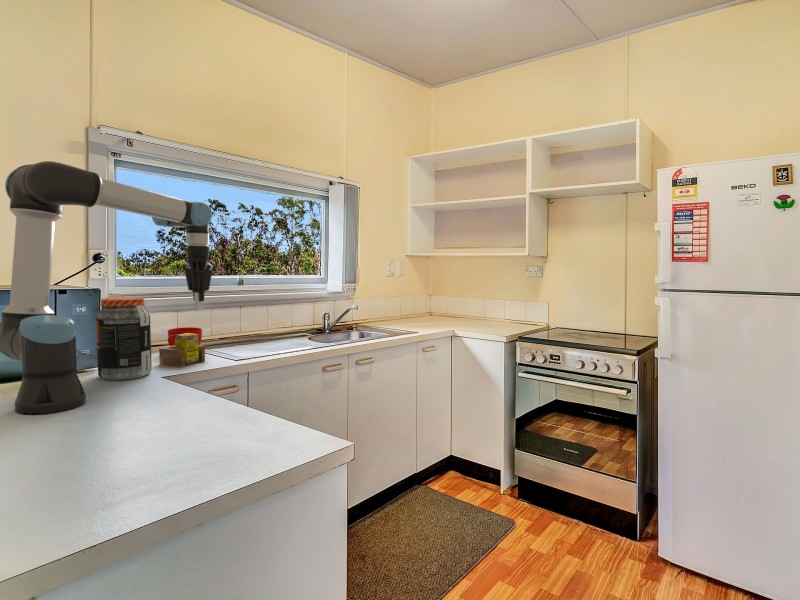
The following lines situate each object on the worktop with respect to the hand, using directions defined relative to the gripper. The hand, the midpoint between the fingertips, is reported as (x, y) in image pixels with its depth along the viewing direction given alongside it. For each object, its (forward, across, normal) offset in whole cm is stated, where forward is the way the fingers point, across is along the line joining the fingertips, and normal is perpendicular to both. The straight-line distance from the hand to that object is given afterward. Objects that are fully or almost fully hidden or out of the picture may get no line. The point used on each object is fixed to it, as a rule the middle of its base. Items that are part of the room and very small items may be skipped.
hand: (198, 310), depth 178 cm
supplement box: (+21, +7, -1) cm, 22 cm away
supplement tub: (+21, +10, +23) cm, 32 cm away
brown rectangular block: (+21, +9, 0) cm, 22 cm away
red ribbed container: (+21, +21, -13) cm, 32 cm away
